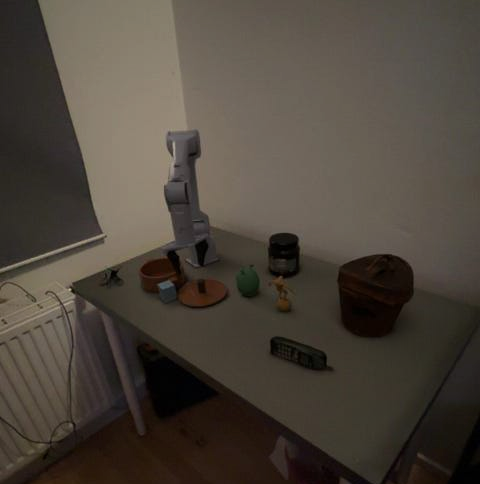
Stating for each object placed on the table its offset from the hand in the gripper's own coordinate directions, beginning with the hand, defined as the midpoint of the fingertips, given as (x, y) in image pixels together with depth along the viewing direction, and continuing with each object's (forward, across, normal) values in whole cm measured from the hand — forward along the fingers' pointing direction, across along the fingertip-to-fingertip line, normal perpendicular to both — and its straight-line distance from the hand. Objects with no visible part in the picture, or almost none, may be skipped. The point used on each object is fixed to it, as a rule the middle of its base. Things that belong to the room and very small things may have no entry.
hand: (190, 269), depth 104 cm
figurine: (+10, +16, -24) cm, 30 cm away
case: (+10, +30, -42) cm, 52 cm away
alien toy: (+10, +13, -10) cm, 19 cm away
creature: (+10, -18, +26) cm, 33 cm away
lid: (+9, +2, -1) cm, 9 cm away
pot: (+9, -4, +15) cm, 18 cm away
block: (+9, -7, +4) cm, 12 cm away
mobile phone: (+10, +6, -42) cm, 44 cm away
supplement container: (+10, +31, -6) cm, 33 cm away
